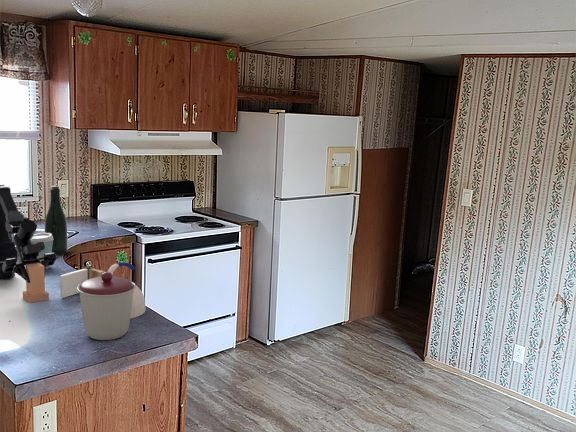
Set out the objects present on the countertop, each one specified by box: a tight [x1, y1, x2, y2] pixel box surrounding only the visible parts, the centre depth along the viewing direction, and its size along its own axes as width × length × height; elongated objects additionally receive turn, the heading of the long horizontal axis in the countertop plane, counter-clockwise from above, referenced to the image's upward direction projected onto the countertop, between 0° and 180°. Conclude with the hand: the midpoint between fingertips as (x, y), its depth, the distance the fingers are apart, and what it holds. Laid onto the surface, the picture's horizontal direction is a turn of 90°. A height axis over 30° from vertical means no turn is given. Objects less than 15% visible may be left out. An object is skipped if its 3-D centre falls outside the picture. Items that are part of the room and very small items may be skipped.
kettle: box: [107, 261, 147, 320], centre depth 209 cm, size 20×21×18 cm
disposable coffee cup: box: [31, 232, 54, 270], centre depth 256 cm, size 11×11×15 cm
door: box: [59, 268, 88, 298], centre depth 224 cm, size 12×3×9 cm, turn 151°
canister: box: [77, 271, 137, 341], centre depth 187 cm, size 18×18×21 cm
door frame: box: [85, 264, 105, 279], centre depth 232 cm, size 22×2×10 cm, turn 61°
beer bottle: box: [44, 185, 69, 256], centre depth 279 cm, size 10×10×33 cm
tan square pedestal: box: [22, 263, 50, 304], centre depth 217 cm, size 7×7×13 cm
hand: (36, 281), depth 216 cm, fingers closed on tan square pedestal, 5 cm apart
